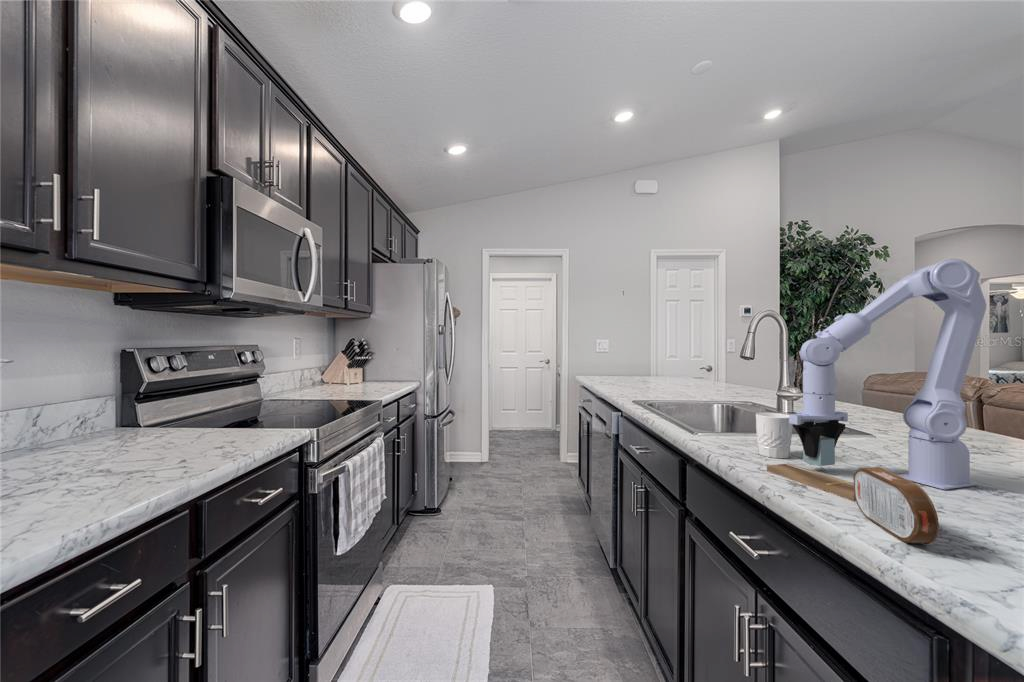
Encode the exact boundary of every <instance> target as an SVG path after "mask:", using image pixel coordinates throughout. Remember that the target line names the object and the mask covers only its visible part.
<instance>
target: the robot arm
mask: <svg viewBox="0 0 1024 682" xmlns="http://www.w3.org/2000/svg"><path fill="white" fill-rule="evenodd" d="M980 275H981V272H979V271H978V270H977V269H975V267H973V266H972V265H971V264H970V263H968V262H966V261H965V260H963V259H959V258H948V259H944V260H941V261H939V262H937V263H934V264H931V265H926V266H921V267H919V268H917V269H916V270H914V271H913V272H912V273H911V274H908V275H906V276H904V277H903V278H900V280H898V281H896V282H895V283H893V285H892V286H890V287H889V288H888V289H886V290H885V291H883V293H881V294H880V295H879V296H878V297H876V298H875V299H874V300H872V301H871V302H870V303H869V304H868V305H865V307H863V308H862V309H861V310H860V311H858V312H856V313H852V312H849V313H848V312H847V313H845V314H844V315H842V314H840V315H837V316H836V317H835V318H834V321H835V322H833V323H832V324H830V325H829V326H828V327H826V328H824V330H822V331H821V330H820V331H819V330H818V331H817V332H816V333H815V334H814V335H815V336H816V338H812V339H811V338H810V339H808V340H807V341H805V342H804V343H803V344H802V346H801V348H800V350H799V351H798V353H799V354H798V355H799V357H800V358H801V360H802V361H803V362H802V363H803V366H802V367H803V371H802V410H799V411H798V412H797V413H792V414H788V415H789V423H790V424H792V428H793V429H794V430H795V432H796V434H798V436H799V440H800V442H801V445H802V449H803V448H804V452H805V455H806V456H809V457H813V458H816V457H817V454H818V443H819V438H820V436H824V437H828V438H833V439H835V447H836V445H837V443H838V440H839V439H840V437H841V435H842V434H843V432H844V430H845V429H846V424H845V423H846V422H848V421H849V412H845V411H836V373H835V363H836V362H837V361H838V359H840V355H841V353H844V352H845V351H847V350H848V349H849V348H851V347H852V346H854V345H855V344H856V343H858V342H859V341H860V340H862V339H863V338H865V337H866V336H867V335H869V334H870V333H871V329H872V324H874V322H876V321H877V320H879V319H880V318H882V317H884V316H885V315H886V314H888V313H890V312H891V311H893V310H895V309H896V308H898V307H899V306H900V305H901V304H903V303H905V302H906V301H907V300H909V299H914V298H917V297H922V298H924V299H927V300H928V301H931V302H933V303H934V304H935V305H936V306H938V308H940V309H941V311H943V312H944V315H943V320H942V322H941V325H940V329H939V333H938V336H937V339H936V343H935V346H934V349H933V352H932V357H931V360H930V363H929V365H928V370H927V373H926V376H925V380H924V382H923V383H924V384H923V387H921V389H919V390H918V391H917V392H916V393H915V394H914V396H913V400H912V401H911V403H910V404H908V405H907V406H906V407H905V408H904V411H903V414H902V419H903V421H904V423H905V424H906V425H907V426H908V428H909V431H908V460H907V461H908V473H904V474H903V473H902V474H897V475H898V476H900V477H903V478H905V479H907V480H909V481H911V482H914V483H916V484H917V483H918V484H922V485H925V486H929V487H933V488H937V489H940V490H951V489H959V488H966V487H972V486H977V483H976V482H973V481H970V478H971V477H970V476H971V475H970V473H971V472H970V471H971V470H970V469H971V465H970V464H971V462H970V461H971V460H970V458H971V454H970V450H969V448H968V446H967V445H966V444H965V443H964V442H963V441H961V440H960V439H959V438H961V436H962V435H964V434H965V432H966V430H967V426H968V424H967V421H966V420H967V419H966V416H965V411H966V408H967V406H966V404H965V402H964V400H963V398H962V396H961V392H962V388H963V385H964V383H965V379H966V376H967V373H968V369H969V366H970V363H971V360H972V356H973V353H974V350H975V345H976V343H977V341H978V338H979V337H978V336H979V333H980V331H981V327H982V323H983V320H984V318H985V317H984V316H985V314H986V310H987V301H986V298H985V296H984V294H983V291H982V288H981V286H980V283H979V280H980ZM842 422H845V423H842Z"/></svg>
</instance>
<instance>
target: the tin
mask: <svg viewBox="0 0 1024 682" xmlns="http://www.w3.org/2000/svg"><path fill="white" fill-rule="evenodd" d="M898 475H899V474H896V473H894V472H891V471H889V470H888V469H885V468H883V467H880V466H875V467H860V468H858V469H856V470H855V471H854V473H853V476H852V479H853V483H854V494H855V500H856V501H855V502H856V505H857V506H858V507H857V508H858V509H859V510H860V512H861V513H862V514H863V516H864V517H865V519H868V520H869V521H870V522H871V523H874V525H876V526H878V527H879V528H880V529H883V530H884V531H885V532H886V533H889V534H890V535H891V536H893V537H894V538H896V539H897V540H899V541H900V540H901V541H900V542H902V543H907V544H921V545H930V544H932V543H934V542H935V541H936V540H937V538H938V537H939V531H940V523H939V518H938V512H937V510H936V507H935V505H934V503H933V501H932V499H931V498H930V496H929V495H928V494H927V492H926V491H925V490H924V489H923V488H922V487H921V486H920V485H919V484H917V483H916V482H914V481H910V480H907V479H905V478H903V477H900V476H898Z"/></svg>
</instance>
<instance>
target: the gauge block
mask: <svg viewBox="0 0 1024 682" xmlns="http://www.w3.org/2000/svg"><path fill="white" fill-rule="evenodd" d="M835 448H836V446H835V439H833V438H828V437H824V436H820V438H819V443H818V454H817V457H816V458H813V457H809V456H806V455H805V452H804V448H803V447H802V460H803V462H806V463H808V464H812V465H816V466H820V467H825V466H833V465H835V464H836V462H835V461H836V449H835Z"/></svg>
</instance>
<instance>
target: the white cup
mask: <svg viewBox="0 0 1024 682" xmlns="http://www.w3.org/2000/svg"><path fill="white" fill-rule="evenodd" d="M755 429H756V430H755V431H756V441H757V453H758V455H761V456H763V457H767V458H771V457H772V458H771V459H781V458H784V459H788V458H790V457H791V445H792V437H793V424H790V423H789V414H788V413H787V414H786V413H780V412H779V413H778V412H756V413H755Z"/></svg>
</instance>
